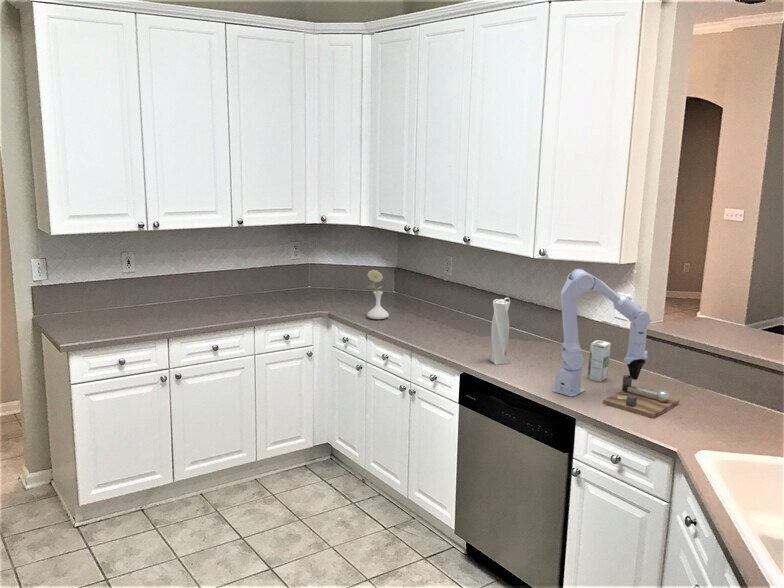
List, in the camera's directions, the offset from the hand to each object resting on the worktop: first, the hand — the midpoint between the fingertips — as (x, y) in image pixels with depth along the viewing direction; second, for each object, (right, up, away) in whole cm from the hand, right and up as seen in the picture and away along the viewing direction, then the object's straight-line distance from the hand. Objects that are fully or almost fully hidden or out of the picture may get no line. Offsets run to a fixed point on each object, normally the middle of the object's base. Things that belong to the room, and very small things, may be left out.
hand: (633, 378), depth 242 cm
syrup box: (-9, -2, +15) cm, 17 cm away
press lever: (+1, -5, -7) cm, 9 cm away
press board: (-1, -7, -10) cm, 13 cm away
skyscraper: (-43, +2, +34) cm, 55 cm away
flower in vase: (-95, +18, +104) cm, 142 cm away
